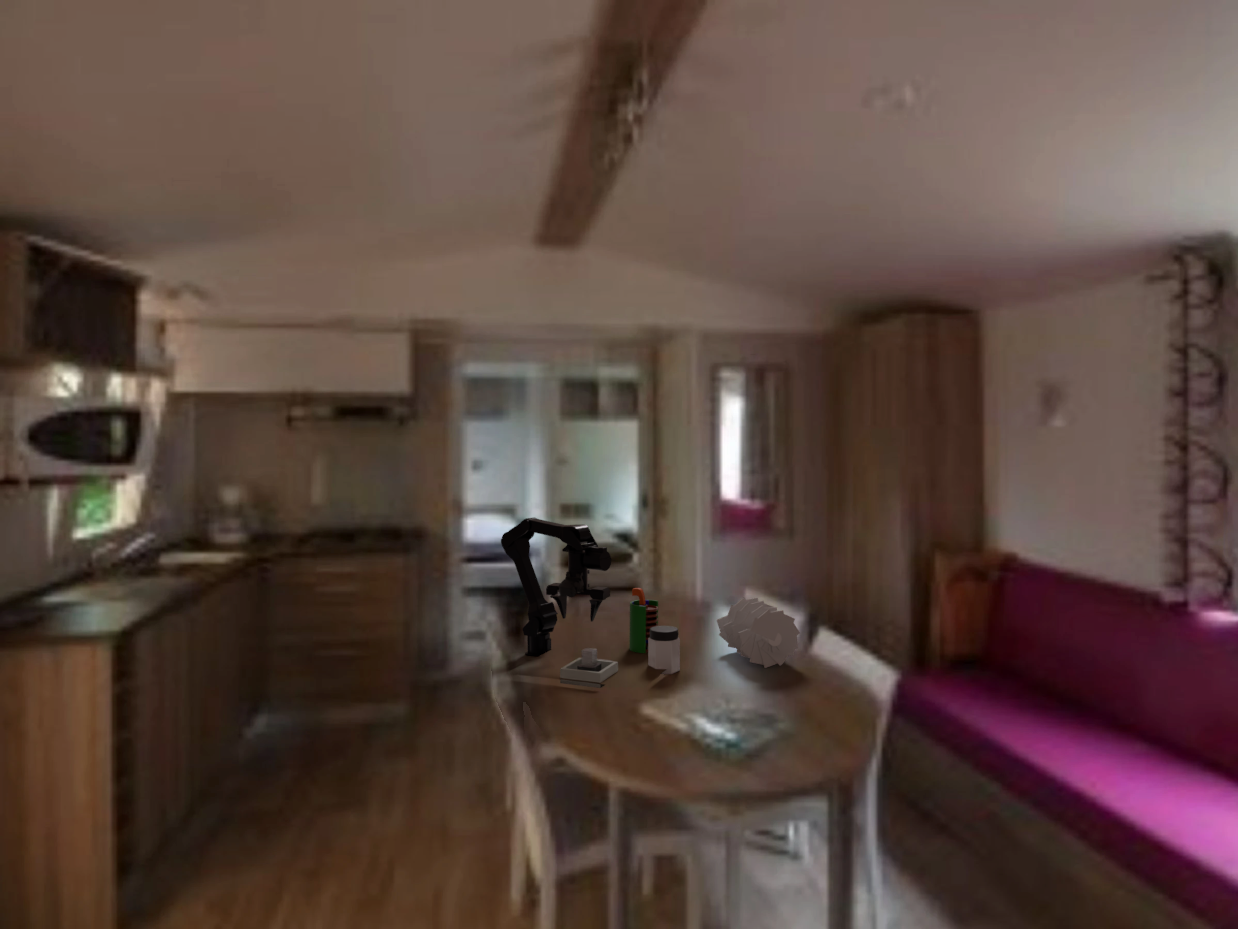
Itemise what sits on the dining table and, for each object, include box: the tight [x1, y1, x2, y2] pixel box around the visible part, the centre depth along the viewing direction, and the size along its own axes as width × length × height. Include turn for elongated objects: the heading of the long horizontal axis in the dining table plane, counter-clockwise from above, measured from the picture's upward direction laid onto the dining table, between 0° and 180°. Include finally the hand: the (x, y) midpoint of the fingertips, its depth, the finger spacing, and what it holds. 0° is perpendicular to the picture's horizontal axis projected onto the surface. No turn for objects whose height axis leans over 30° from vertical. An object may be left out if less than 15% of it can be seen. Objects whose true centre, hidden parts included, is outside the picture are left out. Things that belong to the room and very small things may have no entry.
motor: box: [628, 587, 659, 654], centre depth 265 cm, size 10×9×20 cm
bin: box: [559, 657, 619, 689], centre depth 238 cm, size 12×12×4 cm
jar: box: [647, 625, 681, 675], centre depth 247 cm, size 9×8×12 cm
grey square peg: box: [577, 647, 601, 672], centre depth 238 cm, size 5×5×8 cm
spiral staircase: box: [716, 597, 801, 669], centre depth 257 cm, size 18×18×25 cm
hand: (578, 619), depth 257 cm, fingers open, 9 cm apart
